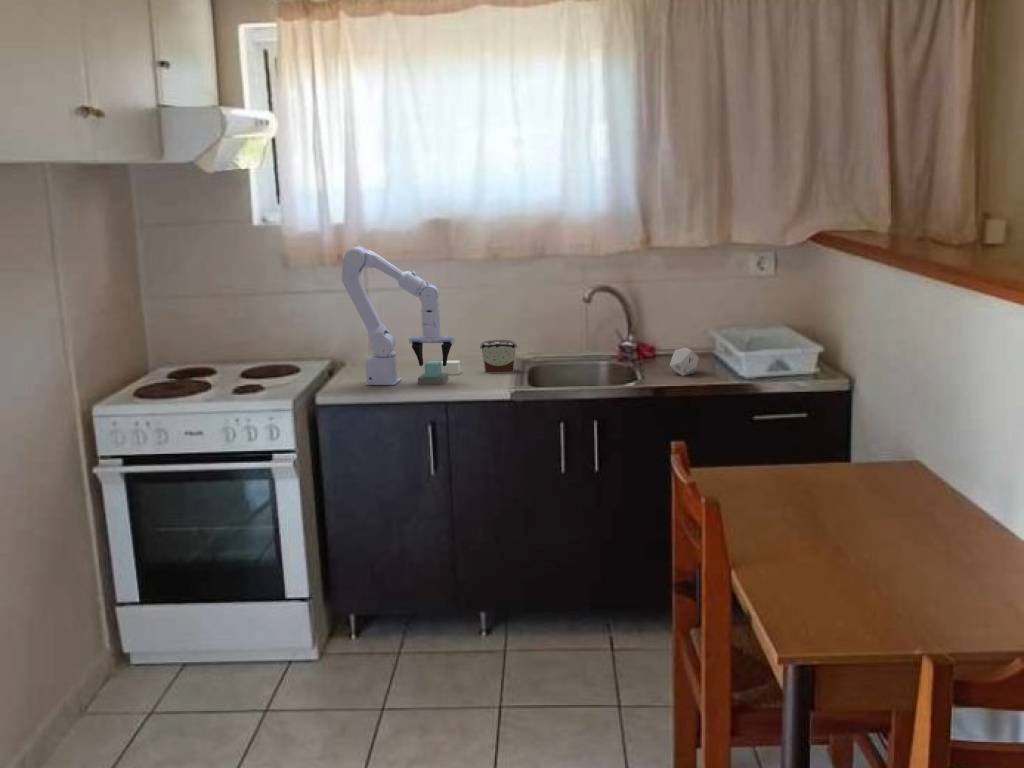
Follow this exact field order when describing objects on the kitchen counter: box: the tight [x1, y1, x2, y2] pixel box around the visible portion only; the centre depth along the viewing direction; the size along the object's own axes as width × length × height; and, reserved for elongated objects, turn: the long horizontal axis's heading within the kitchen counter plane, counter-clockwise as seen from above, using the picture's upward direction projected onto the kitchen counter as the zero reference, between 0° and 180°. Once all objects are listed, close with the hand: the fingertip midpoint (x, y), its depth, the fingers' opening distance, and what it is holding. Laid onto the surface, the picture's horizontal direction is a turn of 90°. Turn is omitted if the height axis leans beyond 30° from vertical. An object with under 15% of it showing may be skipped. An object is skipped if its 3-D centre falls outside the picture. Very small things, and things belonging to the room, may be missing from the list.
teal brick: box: [424, 360, 442, 377], centre depth 324 cm, size 4×6×4 cm, turn 171°
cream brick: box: [441, 359, 462, 376], centre depth 335 cm, size 6×4×4 cm, turn 83°
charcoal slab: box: [417, 372, 449, 385], centre depth 325 cm, size 8×8×2 cm
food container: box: [479, 339, 518, 374], centre depth 336 cm, size 12×6×10 cm, turn 84°
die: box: [669, 347, 700, 377], centre depth 323 cm, size 8×9×10 cm
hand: (433, 365), depth 324 cm, fingers open, 7 cm apart
